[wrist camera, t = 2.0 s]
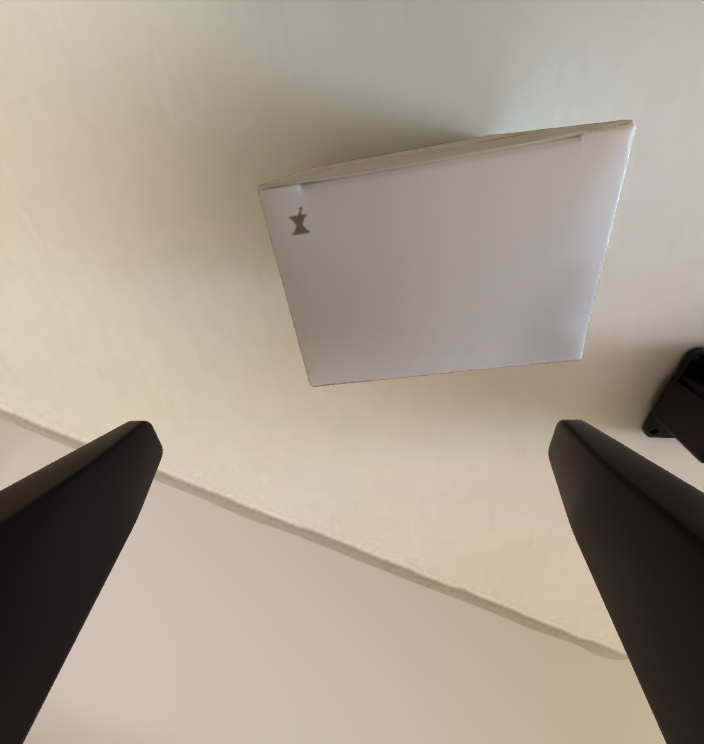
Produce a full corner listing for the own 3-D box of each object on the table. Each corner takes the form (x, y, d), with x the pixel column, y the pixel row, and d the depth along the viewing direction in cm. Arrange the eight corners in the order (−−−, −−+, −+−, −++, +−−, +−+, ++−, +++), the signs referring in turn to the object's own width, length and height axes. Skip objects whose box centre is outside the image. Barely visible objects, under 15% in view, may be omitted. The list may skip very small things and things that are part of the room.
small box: (336, 280, 19) (301, 392, 11) (315, 164, 16) (244, 185, 8) (486, 260, 18) (587, 367, 10) (493, 132, 15) (648, 116, 7)
